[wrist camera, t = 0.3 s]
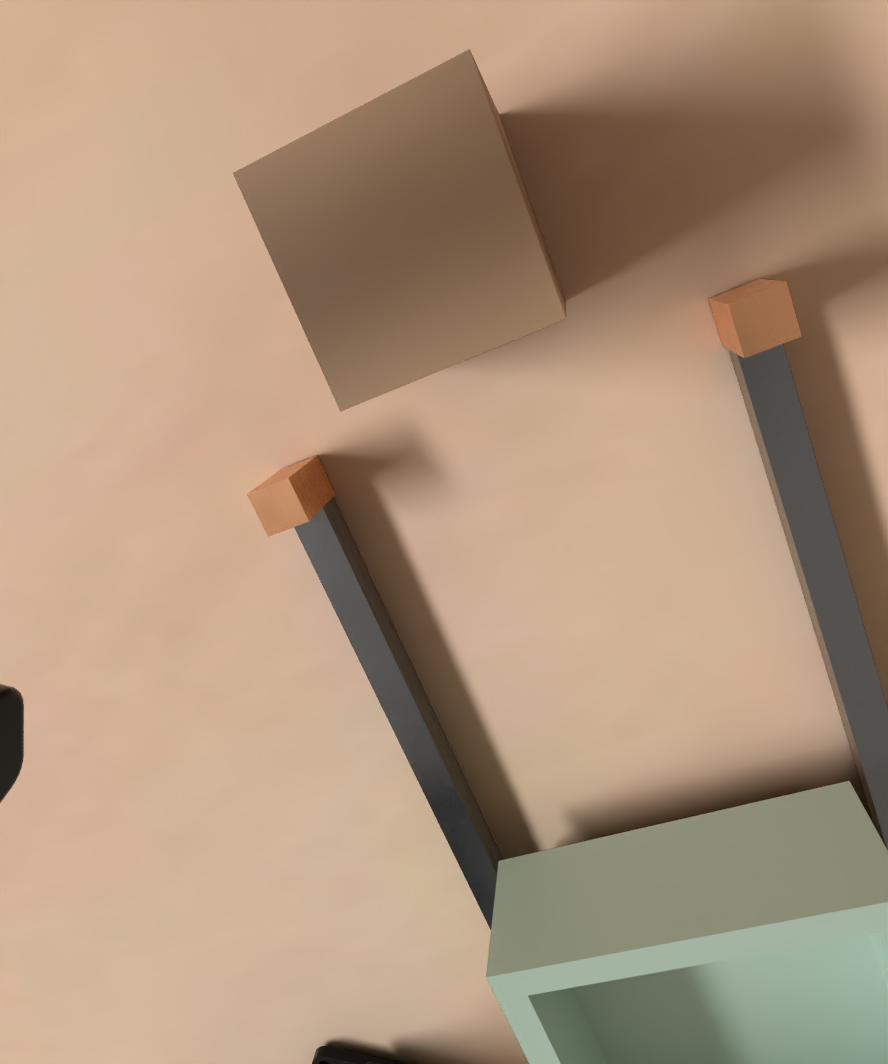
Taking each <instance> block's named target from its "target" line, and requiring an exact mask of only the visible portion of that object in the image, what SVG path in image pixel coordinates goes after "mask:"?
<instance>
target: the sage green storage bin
mask: <svg viewBox="0 0 888 1064" xmlns="http://www.w3.org/2000/svg"><path fill="white" fill-rule="evenodd" d="M486 978H487V980H488V982H489V984H490V986H491V988H492V990H493V992H494V994H495V996H496V998H497V1000H498V1002H499V1004H500V1006H501V1008H502V1010H503V1012H504V1014H505V1016H506V1018H507V1020H508V1022H509V1024H510V1026H511V1028H512V1030H513V1032H514V1034H515V1036H516V1038H517V1040H518V1042H519V1044H520V1046H521V1048H522V1050H523V1052H524V1054H525V1056H526V1058H527V1060H528V1062H529V1064H888V850H887V849H886V847H885V845H884V843H883V841H882V839H881V838H880V836H879V834H878V832H877V830H876V828H875V827H874V825H873V823H872V821H871V819H870V818H869V816H868V814H867V812H866V810H865V808H864V807H863V805H862V803H861V801H860V799H859V797H858V796H857V794H856V792H855V790H854V788H853V786H852V785H851V783H850V781H846V782H841V783H837V784H833V785H828V786H824V787H820V788H815V789H811V790H806V791H802V792H798V793H793V794H789V795H785V796H780V797H776V798H771V799H767V800H763V801H758V802H754V803H750V804H745V805H741V806H736V807H732V808H728V809H723V810H719V811H715V812H710V813H706V814H701V815H697V816H693V817H688V818H684V819H680V820H675V821H671V822H666V823H662V824H658V825H653V826H649V827H645V828H640V829H636V830H631V831H627V832H623V833H618V834H614V835H610V836H605V837H601V838H596V839H592V840H588V841H583V842H579V843H575V844H570V845H566V846H561V847H557V848H553V849H548V850H544V851H540V852H535V853H531V854H526V855H522V856H518V857H513V858H509V859H505V860H500V861H499V862H498V872H497V881H496V890H495V900H494V909H493V918H492V927H491V937H490V946H489V955H488V965H487V974H486Z"/></svg>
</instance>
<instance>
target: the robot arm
mask: <svg viewBox="0 0 888 1064" xmlns="http://www.w3.org/2000/svg"><path fill="white" fill-rule="evenodd" d="M23 756H24V704H23V698H22V695H21V693H20V692H19V691H18V690H17V689H15V688H13V687H10V686H6V685H2V684H0V803H1V801H2V800H3V799H4V797H5V796H6V794H7V793H8V792H9V790H10V789H11V787H12V786H13V784H14V783H15V781H16V779H17V777H18V775H19V773H20V770H21V767H22V763H23ZM312 1064H402V1063H398V1062H394V1061H390V1060H385V1059H381V1058H377V1057H373V1056H368V1055H364V1054H360V1053H356V1052H351V1051H347V1050H343V1049H339V1048H334V1047H330V1046H321V1047H319V1048H318V1049H317V1050H316V1052H315V1056H314V1059H313V1062H312Z"/></svg>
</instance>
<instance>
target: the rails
mask: <svg viewBox="0 0 888 1064" xmlns="http://www.w3.org/2000/svg"><path fill="white" fill-rule="evenodd" d="M708 300H709V303H710V306H711V309H712V313H713V316H714V319H715V322H716V326H717V329H718V332H719V335H720V339H721V342H722V345H723V347H725V348H727V349H728V350H729V353H730V356H731V359H732V363H733V366H734V369H735V373H736V376H737V379H738V382H739V386H740V389H741V392H742V395H743V399H744V402H745V405H746V408H747V412H748V415H749V418H750V421H751V425H752V428H753V431H754V435H755V438H756V441H757V444H758V448H759V451H760V454H761V457H762V461H763V464H764V467H765V470H766V474H767V477H768V480H769V484H770V487H771V490H772V493H773V497H774V500H775V503H776V506H777V510H778V513H779V516H780V519H781V523H782V526H783V529H784V533H785V536H786V539H787V542H788V546H789V549H790V552H791V555H792V559H793V562H794V565H795V568H796V572H797V575H798V578H799V582H800V585H801V588H802V591H803V595H804V598H805V601H806V604H807V608H808V611H809V614H810V617H811V621H812V624H813V627H814V631H815V634H816V637H817V640H818V644H819V647H820V650H821V653H822V657H823V660H824V663H825V666H826V670H827V673H828V676H829V680H830V683H831V686H832V689H833V693H834V696H835V699H836V702H837V706H838V709H839V712H840V715H841V719H842V722H843V725H844V729H845V732H846V735H847V738H848V742H849V745H850V748H851V751H852V755H853V758H854V761H855V764H856V768H857V771H858V774H859V778H860V781H861V784H862V787H863V791H864V794H865V797H866V800H867V804H868V807H869V810H870V813H871V817H872V820H873V823H874V826H875V828H876V830H877V832H878V834H879V836H880V838H881V839H882V841H883V843H884V845H885V847H886V849H887V850H888V709H887V705H886V702H885V698H884V695H883V691H882V688H881V684H880V681H879V677H878V674H877V670H876V667H875V663H874V660H873V656H872V653H871V649H870V646H869V642H868V639H867V635H866V632H865V628H864V625H863V621H862V618H861V615H860V611H859V608H858V604H857V601H856V597H855V594H854V590H853V587H852V583H851V580H850V576H849V573H848V569H847V566H846V562H845V559H844V555H843V552H842V548H841V545H840V541H839V538H838V534H837V531H836V527H835V524H834V520H833V517H832V513H831V510H830V506H829V503H828V499H827V496H826V492H825V489H824V485H823V482H822V478H821V475H820V471H819V468H818V464H817V461H816V457H815V454H814V451H813V447H812V444H811V440H810V437H809V433H808V430H807V426H806V423H805V419H804V416H803V412H802V409H801V405H800V402H799V398H798V395H797V391H796V388H795V384H794V381H793V377H792V374H791V370H790V367H789V363H788V360H787V356H786V353H785V349H784V346H783V344H784V343H786V342H789V341H792V340H794V339H797V338H800V337H802V335H801V332H800V328H799V325H798V321H797V317H796V314H795V310H794V307H793V303H792V299H791V296H790V292H789V289H788V285H787V282H786V281H776V280H766V279H757V280H755V281H752V282H750V283H747V284H745V285H742V286H740V287H737V288H735V289H732V290H730V291H727V292H725V293H722V294H720V295H717V296H715V297H712V298H710V299H708ZM247 495H248V497H249V499H250V501H251V503H252V505H253V507H254V509H255V511H256V513H257V515H258V517H259V519H260V521H261V523H262V525H263V527H264V529H265V531H266V533H267V535H268V537H269V536H271V535H274V534H277V533H279V532H282V531H285V530H287V529H290V528H293V527H294V528H295V530H296V532H297V534H298V536H299V538H300V540H301V542H302V544H303V546H304V548H305V550H306V552H307V554H308V556H309V558H310V560H311V563H312V565H313V567H314V569H315V571H316V573H317V575H318V577H319V579H320V581H321V583H322V585H323V587H324V589H325V591H326V593H327V595H328V597H329V599H330V601H331V604H332V606H333V608H334V610H335V612H336V614H337V616H338V618H339V620H340V622H341V624H342V626H343V628H344V630H345V632H346V634H347V636H348V638H349V640H350V642H351V644H352V647H353V649H354V651H355V653H356V655H357V657H358V659H359V661H360V663H361V665H362V667H363V669H364V671H365V673H366V675H367V677H368V679H369V681H370V683H371V685H372V688H373V690H374V692H375V694H376V696H377V698H378V700H379V702H380V704H381V706H382V708H383V710H384V712H385V714H386V716H387V718H388V720H389V722H390V724H391V726H392V728H393V731H394V733H395V735H396V737H397V739H398V741H399V743H400V745H401V747H402V749H403V751H404V753H405V755H406V757H407V759H408V761H409V763H410V765H411V767H412V769H413V772H414V774H415V776H416V778H417V780H418V782H419V784H420V786H421V788H422V790H423V792H424V794H425V796H426V798H427V800H428V802H429V804H430V806H431V808H432V810H433V812H434V815H435V817H436V819H437V821H438V823H439V825H440V827H441V829H442V831H443V833H444V835H445V837H446V839H447V841H448V843H449V845H450V847H451V849H452V851H453V853H454V856H455V858H456V860H457V862H458V864H459V866H460V868H461V870H462V872H463V874H464V876H465V878H466V880H467V882H468V884H469V886H470V888H471V890H472V892H473V894H474V896H475V899H476V901H477V903H478V905H479V907H480V909H481V911H482V913H483V915H484V917H485V919H486V921H487V923H488V925H489V927H490V929H491V927H492V918H493V909H494V900H495V890H496V881H497V872H498V862H499V861H500V860H503V859H502V856H501V854H500V852H499V850H498V848H497V846H496V844H495V842H494V839H493V837H492V835H491V833H490V831H489V829H488V827H487V824H486V822H485V820H484V818H483V816H482V814H481V812H480V809H479V807H478V805H477V803H476V801H475V799H474V797H473V795H472V792H471V790H470V788H469V786H468V784H467V782H466V780H465V777H464V775H463V773H462V771H461V769H460V767H459V765H458V763H457V760H456V758H455V756H454V754H453V752H452V750H451V748H450V745H449V743H448V741H447V739H446V737H445V735H444V733H443V730H442V728H441V726H440V724H439V722H438V720H437V718H436V716H435V713H434V711H433V709H432V707H431V705H430V703H429V701H428V698H427V696H426V694H425V692H424V690H423V688H422V686H421V684H420V681H419V679H418V677H417V675H416V673H415V671H414V669H413V666H412V664H411V662H410V660H409V658H408V656H407V654H406V651H405V649H404V647H403V645H402V643H401V641H400V639H399V637H398V634H397V632H396V630H395V628H394V626H393V624H392V622H391V619H390V617H389V615H388V613H387V611H386V609H385V607H384V605H383V602H382V600H381V598H380V596H379V594H378V592H377V590H376V587H375V585H374V583H373V581H372V579H371V577H370V575H369V572H368V570H367V568H366V566H365V564H364V562H363V560H362V558H361V555H360V553H359V551H358V549H357V547H356V545H355V543H354V540H353V538H352V536H351V534H350V532H349V530H348V528H347V525H346V523H345V521H344V519H343V517H342V515H341V513H340V511H339V508H338V506H337V504H336V502H335V500H334V498H333V496H334V495H335V492H334V490H333V488H332V486H331V483H330V481H329V479H328V477H327V475H326V473H325V471H324V468H323V466H322V464H321V462H320V460H319V458H318V456H317V455H316V456H314V457H311V458H308V459H306V460H303V461H301V462H298V463H296V464H293V465H291V466H288V467H286V468H283V469H281V470H279V471H278V472H276V473H275V474H274V475H272V476H271V477H270V478H268V479H267V480H266V481H264V482H263V483H262V484H260V485H259V486H258V487H256V488H255V489H254V490H252V491H251V492H250V493H248V494H247Z"/></svg>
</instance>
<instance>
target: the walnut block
mask: <svg viewBox="0 0 888 1064" xmlns="http://www.w3.org/2000/svg"><path fill="white" fill-rule="evenodd" d="M233 174H234V177H235V179H236V181H237V183H238V186H239V188H240V190H241V192H242V194H243V197H244V199H245V201H246V203H247V205H248V208H249V210H250V212H251V214H252V217H253V219H254V221H255V223H256V225H257V228H258V230H259V232H260V234H261V236H262V239H263V241H264V243H265V245H266V248H267V250H268V252H269V254H270V256H271V259H272V261H273V263H274V265H275V267H276V270H277V272H278V274H279V276H280V279H281V281H282V283H283V285H284V287H285V290H286V292H287V294H288V296H289V298H290V301H291V303H292V305H293V307H294V310H295V312H296V314H297V316H298V318H299V321H300V323H301V325H302V327H303V329H304V332H305V334H306V336H307V338H308V341H309V343H310V345H311V347H312V349H313V352H314V354H315V356H316V358H317V360H318V363H319V365H320V367H321V369H322V372H323V374H324V376H325V378H326V380H327V383H328V385H329V387H330V389H331V392H332V394H333V396H334V398H335V400H336V403H337V405H338V407H339V409H340V411H343V410H346V409H348V408H350V407H353V406H355V405H358V404H360V403H363V402H365V401H367V400H370V399H372V398H375V397H377V396H380V395H382V394H384V393H387V392H389V391H392V390H394V389H397V388H399V387H401V386H404V385H406V384H409V383H411V382H414V381H416V380H418V379H421V378H423V377H426V376H428V375H431V374H433V373H435V372H438V371H440V370H443V369H445V368H448V367H450V366H452V365H455V364H457V363H460V362H462V361H465V360H467V359H469V358H472V357H474V356H477V355H479V354H482V353H484V352H486V351H489V350H491V349H494V348H496V347H499V346H501V345H503V344H506V343H508V342H511V341H513V340H516V339H518V338H520V337H523V336H525V335H528V334H530V333H533V332H535V331H537V330H540V329H542V328H545V327H547V326H550V325H552V324H554V323H557V322H559V321H562V320H564V319H566V301H565V298H564V295H563V292H562V290H561V287H560V284H559V281H558V278H557V276H556V273H555V270H554V267H553V264H552V262H551V259H550V256H549V253H548V250H547V248H546V245H545V242H544V239H543V236H542V234H541V231H540V228H539V225H538V222H537V219H536V217H535V214H534V211H533V208H532V205H531V203H530V200H529V197H528V194H527V191H526V189H525V186H524V183H523V180H522V177H521V175H520V172H519V169H518V166H517V163H516V161H515V158H514V155H513V152H512V149H511V147H510V144H509V141H508V138H507V135H506V133H505V130H504V127H503V124H502V121H501V119H500V116H499V113H498V111H497V109H496V107H495V104H494V102H493V100H492V98H491V96H490V93H489V91H488V89H487V87H486V84H485V82H484V80H483V78H482V76H481V73H480V71H479V69H478V67H477V65H476V62H475V60H474V58H473V56H472V53H471V51H470V49H469V50H467V51H465V52H463V53H461V54H460V55H458V56H456V57H454V58H452V59H450V60H448V61H446V62H444V63H442V64H440V65H438V66H437V67H435V68H433V69H431V70H429V71H427V72H425V73H423V74H421V75H419V76H417V77H416V78H414V79H412V80H410V81H408V82H406V83H404V84H402V85H400V86H398V87H396V88H395V89H393V90H391V91H389V92H387V93H385V94H383V95H381V96H379V97H377V98H375V99H374V100H372V101H370V102H368V103H366V104H364V105H362V106H360V107H358V108H356V109H354V110H352V111H351V112H349V113H347V114H345V115H343V116H341V117H339V118H337V119H335V120H333V121H331V122H330V123H328V124H326V125H324V126H322V127H320V128H318V129H316V130H314V131H312V132H310V133H309V134H307V135H305V136H303V137H301V138H299V139H297V140H295V141H293V142H291V143H289V144H288V145H286V146H284V147H282V148H280V149H278V150H276V151H274V152H272V153H270V154H268V155H266V156H265V157H263V158H261V159H259V160H257V161H255V162H253V163H251V164H249V165H247V166H245V167H244V168H242V169H240V170H238V171H236V172H234V173H233Z"/></svg>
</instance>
